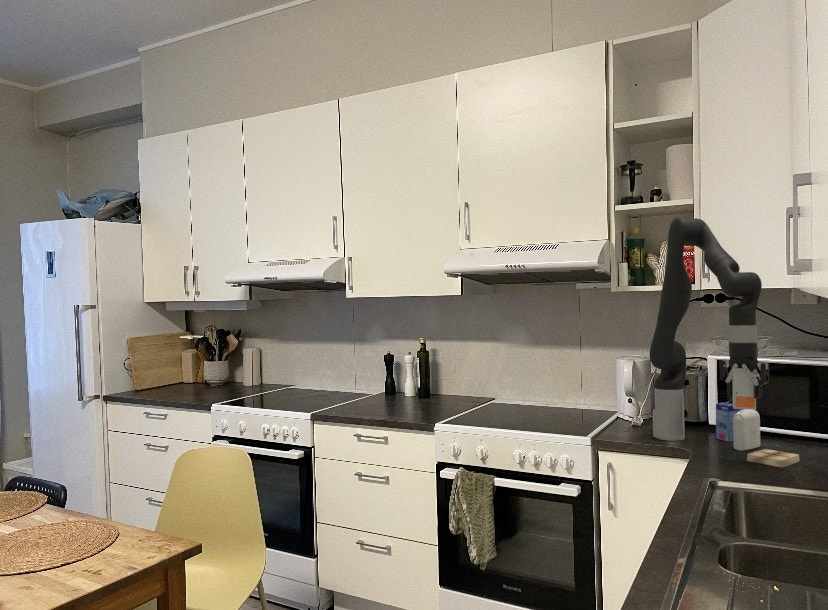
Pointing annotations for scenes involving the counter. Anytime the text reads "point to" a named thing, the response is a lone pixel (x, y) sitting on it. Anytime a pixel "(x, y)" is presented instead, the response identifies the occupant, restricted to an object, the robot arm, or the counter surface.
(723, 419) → the ink cartridge box
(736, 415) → the white rounded block
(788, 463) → the trivet
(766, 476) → the counter surface
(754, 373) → the skincare box
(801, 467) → the counter surface
